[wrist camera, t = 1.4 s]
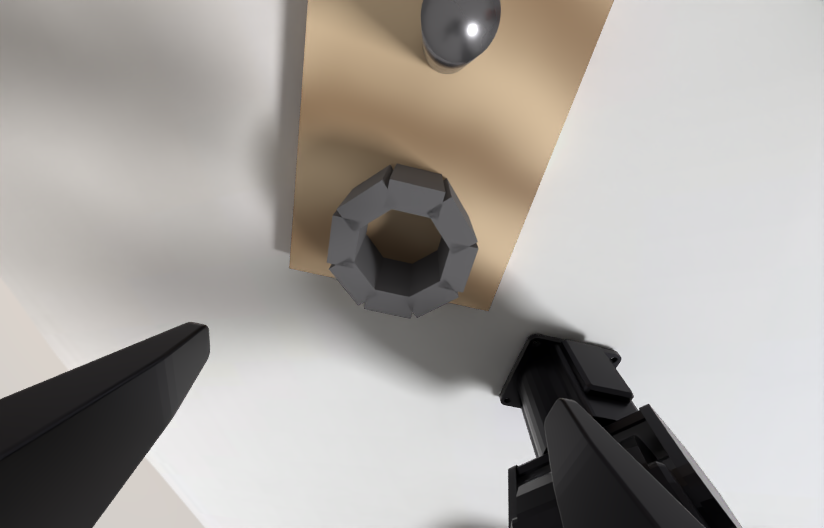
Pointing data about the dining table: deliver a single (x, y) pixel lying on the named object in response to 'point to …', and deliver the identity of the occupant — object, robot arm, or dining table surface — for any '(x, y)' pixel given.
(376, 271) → the ring
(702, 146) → the dining table surface
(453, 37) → the dark grey cylinder
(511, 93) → the hook board
